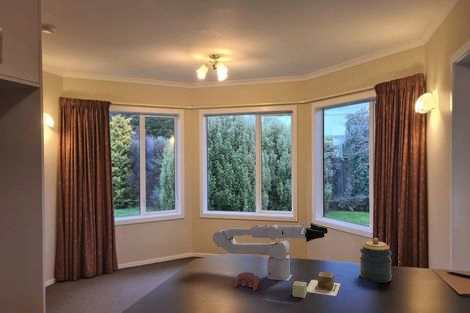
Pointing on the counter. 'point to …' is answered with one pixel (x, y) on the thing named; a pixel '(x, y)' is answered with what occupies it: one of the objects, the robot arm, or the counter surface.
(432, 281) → the counter surface
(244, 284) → the video game controller
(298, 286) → the sage block
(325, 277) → the walnut block
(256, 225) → the robot arm
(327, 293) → the cream square tray
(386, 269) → the canister
